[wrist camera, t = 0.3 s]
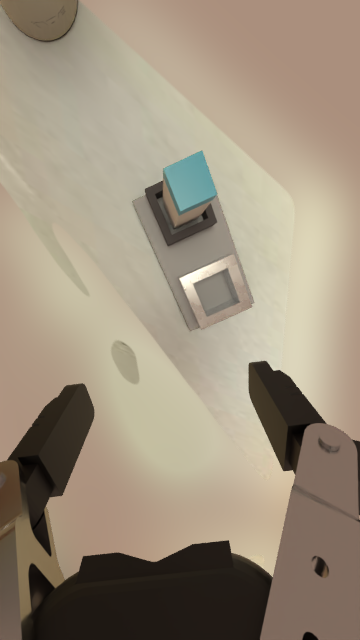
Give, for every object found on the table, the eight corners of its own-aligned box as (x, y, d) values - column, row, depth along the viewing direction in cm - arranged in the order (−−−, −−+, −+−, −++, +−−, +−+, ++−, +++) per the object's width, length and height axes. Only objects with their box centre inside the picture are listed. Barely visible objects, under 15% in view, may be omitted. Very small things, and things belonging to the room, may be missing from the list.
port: (177, 277, 35) (179, 278, 31) (226, 254, 35) (233, 253, 31) (197, 323, 37) (201, 329, 34) (243, 303, 37) (252, 306, 33)
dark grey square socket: (146, 196, 31) (144, 189, 29) (193, 174, 31) (197, 164, 28) (167, 246, 33) (168, 244, 31) (212, 225, 33) (217, 222, 30)
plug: (162, 203, 32) (163, 168, 20) (187, 192, 32) (202, 150, 20) (173, 230, 33) (180, 211, 21) (197, 219, 33) (217, 194, 21)
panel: (132, 203, 32) (131, 201, 31) (205, 169, 32) (207, 166, 31) (189, 329, 38) (190, 331, 37) (251, 301, 38) (254, 302, 37)
